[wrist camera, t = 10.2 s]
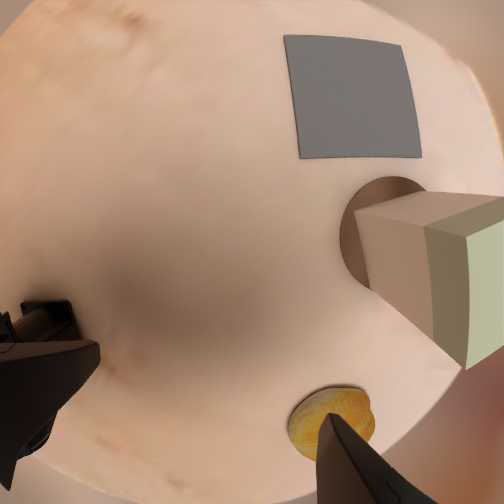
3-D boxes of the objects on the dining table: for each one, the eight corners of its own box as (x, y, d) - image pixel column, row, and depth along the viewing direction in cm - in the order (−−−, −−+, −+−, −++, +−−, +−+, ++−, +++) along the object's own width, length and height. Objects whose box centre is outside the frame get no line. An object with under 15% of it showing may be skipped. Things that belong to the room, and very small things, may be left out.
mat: (299, 159, 20) (300, 158, 19) (283, 37, 18) (284, 34, 17) (419, 158, 20) (422, 157, 19) (398, 47, 18) (400, 45, 17)
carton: (370, 287, 21) (465, 370, 9) (353, 210, 20) (466, 236, 8) (431, 263, 21) (539, 315, 9) (419, 191, 20) (542, 201, 8)
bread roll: (358, 369, 24) (374, 395, 20) (373, 426, 25) (386, 451, 21) (272, 403, 24) (276, 433, 20) (301, 454, 26) (307, 481, 22)
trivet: (341, 298, 22) (343, 300, 21) (335, 178, 20) (338, 177, 19) (434, 282, 22) (438, 284, 21) (435, 176, 20) (439, 176, 19)
